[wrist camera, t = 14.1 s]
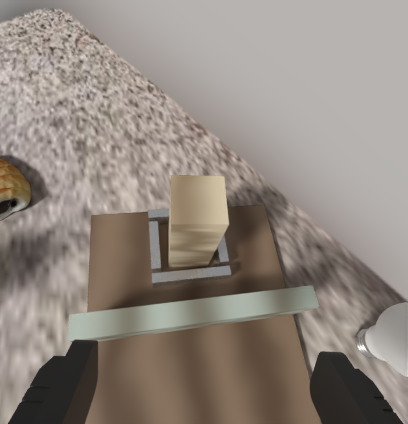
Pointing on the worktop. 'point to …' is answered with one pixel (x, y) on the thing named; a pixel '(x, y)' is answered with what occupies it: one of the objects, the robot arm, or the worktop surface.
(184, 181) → the block
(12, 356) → the worktop surface
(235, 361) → the door mockup
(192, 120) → the worktop surface
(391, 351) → the light bulb
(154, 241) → the keeper socket
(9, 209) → the pastry
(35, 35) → the worktop surface
